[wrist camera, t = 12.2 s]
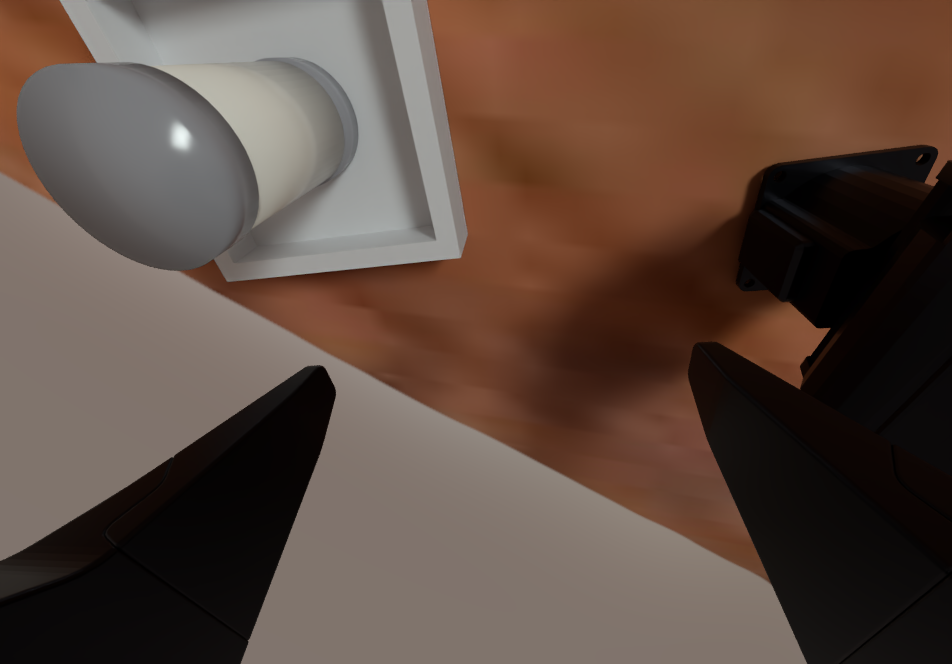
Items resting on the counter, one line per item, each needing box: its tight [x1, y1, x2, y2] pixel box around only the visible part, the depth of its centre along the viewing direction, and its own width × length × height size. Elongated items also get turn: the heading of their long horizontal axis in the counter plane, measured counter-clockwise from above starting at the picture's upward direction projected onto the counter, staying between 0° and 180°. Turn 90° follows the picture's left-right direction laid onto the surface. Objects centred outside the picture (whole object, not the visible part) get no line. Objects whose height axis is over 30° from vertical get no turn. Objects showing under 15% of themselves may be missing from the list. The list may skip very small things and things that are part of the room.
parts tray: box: [60, 0, 468, 282], centre depth 17 cm, size 13×13×3 cm
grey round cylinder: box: [17, 57, 359, 271], centre depth 14 cm, size 5×5×10 cm
